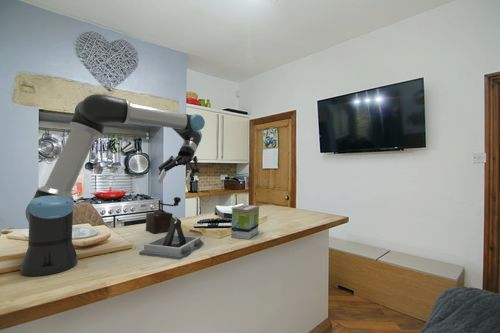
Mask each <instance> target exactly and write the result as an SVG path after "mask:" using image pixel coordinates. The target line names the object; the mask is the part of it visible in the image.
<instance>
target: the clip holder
mask: <svg viewBox="0 0 500 333" xmlns="http://www.w3.org/2000/svg"><path fill="white" fill-rule="evenodd" d="M166 235H167V234H166ZM166 235H162V236H161V237H159V238H157V239H154V240H151V241H149V242H147V243H145V244H144V245H143V250H140V251H138V255H141V256H142V255H143V256H147V257H149V256H150V257H155V258H156V257H157V258H165V259H173V260H182V259H184V258H185V257H187V256H188V255H190V254H191V253H193V252H194V251H196V250H197V249H199V248H201V247H202V246H203V245H204V241H202V240H201V237H200V236H192V235H191V236H189V235H184V237H185V240H186V243H187V244H185V245H183V246H181V247H179V248H177V247H169V246H163V243H164V241H165V238H166ZM179 243H180V242H179V238H178V234H174V237H173V241H172V244H179Z"/></svg>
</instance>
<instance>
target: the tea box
mask: <svg viewBox="0 0 500 333" xmlns="http://www.w3.org/2000/svg"><path fill="white" fill-rule="evenodd" d="M231 210H232V211H231V213H232V214H231V231H230V237H231V238H234V239H241V240H250V239H251V238H252V237H254V236H255V235H257V234H258V233H259V219H260V218H259V217H260V206H259V205H249V204H240V205H238V206H235V207H233V208H231Z"/></svg>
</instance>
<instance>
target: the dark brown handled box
mask: <svg viewBox="0 0 500 333" xmlns="http://www.w3.org/2000/svg"><path fill="white" fill-rule="evenodd" d="M161 201H162V200H161V199H158V208H157V209H156V210H155V211H153V212H147V213H146V215H145V216H146V218H145V231H147V232H148V233H151V234H154V235H157V234H162V233H163V234H164V233H168V230H169V227H170V224H171V222H170V220H171V218H172V217H173V216H174V215H173V213H172V212H168V211H167V212H166V211H165V210H164V209H161V206H170V207H177V206H179V204H180V203H181V201H182V198H181V197H178V196H175V197H174V198H173V201H174V202H173V204H171V203H170V204H169V203H163V202H161Z"/></svg>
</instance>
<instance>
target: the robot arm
mask: <svg viewBox="0 0 500 333" xmlns="http://www.w3.org/2000/svg"><path fill="white" fill-rule="evenodd" d="M127 122H129V123H133V124H134V123H135V124H142V125H149V126H156V127H163V128H169V129H172V130H174V131H175V132H176V134H178V136H180V138H182V140H183V143H182V145H181V147H180V148H179V150H178V153H177V155H176V156H173V155H171V156H169V158H168V159H167V160H165V161H164V162H163V163H162V164H161V165H159V166H158V170H159V174H158V178H157V181H158V183H159V184H162V183H163V180H164V178H165V177H166V175H167V172H169V171H170V170H172V169H173V168H175V167H178V166H188V168H189V170H188V173H187V175H186V178H185V180H184V181H185V183H186V185H189V184H190V182H191V180H192V179H193V178H194V177H195V174H199V173H200V168H199V165H198V162H199V161H198V158H197V157H198V156H197V155H195V153H196V152H197V150H198V148H199V145H200V142H201V141H202V139H203V138H202V137H203V134H202V131H201V130H202V129H204V127H205V124H206V122H205V119H204V117H203V115H201V114H198V113H197V114H196V113H195V114H187V113H181V112H177V111H174V110H167V109H163V108H157V107H153V106H148V105H147V106H146V105H141V104H136V103H131V102H129V101H128V100H127V99H125V98H120V97H117V96H111V95H106V94H100V93H97V94H95V93H94V94H91V95H88V96H86V97H85V98H84V99H83V100H81V101H80V102H78V103H77V105H76V106H75V108H74V113H73V116H72V117H71V120H70V122H69V125H70V127H71V130H70V133H69V134H68V136H67V139H66V141H65V143H64V145H63V147H62V149H61V151H60V153H59V155H58V158H57V159H56V162H55V164H54V166H53V168H52V170H51V172H50V173H49V176H48V178H47V180H46V183H45V184H44V185H43V186H41V187H38V188H37V190H36V192H35V194H34V196H33V198H32V199H31V200H30V202H29V203H28V204H27V206H26V208H25V219H26V220H27V221H28V244H27V246H28V247H27V250H26V252H25V255H24V257H23V259H22V262H21V264H20V270H19V271H20V274H21V275H22V276H27V277H38V276H40V277H41V276H47V275H53V274H58V273H61V272H64V271H67V270H70V269H72V268H74V267H75V266H77V265H78V263H79V262H78V260H79V258H78V257H79V256H78V254H77V251H76V248H75V245H74V243H73V224H74V223H73V221H74V220H73V217H74V214H73V213H74V202H73V199H74V197H73V194H72V191H73V188H74V186H75V184H76V182H77V179H78V177H79V175H80V173H81V170H82V169H83V167H84V164H85V162H86V160H87V157H88V155H89V153H90V151H91V149H92V146H93V145H94V142H95V140H96V138H98V137H100V136H101V137H102V135H103V132H104V130H105V128H106V126H107V124H114V123H117V124H126V123H127ZM191 162H193V163H194V166H195V167H194V166H193V165H192V163H191Z"/></svg>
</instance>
